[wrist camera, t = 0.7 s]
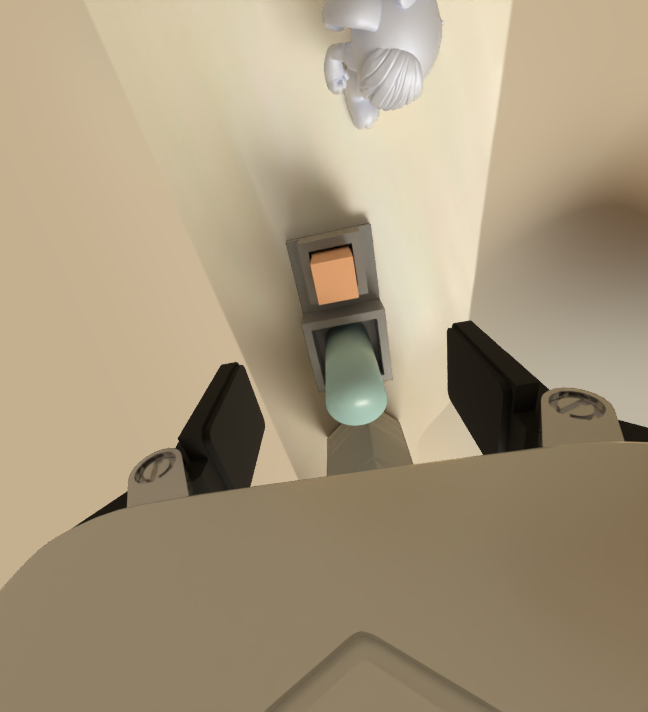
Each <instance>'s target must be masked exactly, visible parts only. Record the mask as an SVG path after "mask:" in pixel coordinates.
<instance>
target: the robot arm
mask: <svg viewBox="0 0 648 712" xmlns="http://www.w3.org/2000/svg"><path fill="white" fill-rule="evenodd" d="M447 370H448V395H449V398H450V400H451V402H452V404H453V405H454V407H455V409H456V410H457V412H458V413H459V415H460V417H461V418H462V420H463V422H464V424H465V425H466V427H467V428H468V430H469V432H470V434H471V435H472V437H473V438H474V440H475V442H476V444H477V445H478V447H479V448H480V450H481V452H482V454H483V455H481V456H472V457H465V458H457V459H450V460H442V461H435V462H427V463H420V464H413V465H406V466H398V467H391V468H384V469H377V470H370V471H362V472H355V473H348V474H341V475H333V476H326V477H319V478H311V479H304V480H297V481H290V482H283V483H275V484H268V485H261V486H254V487H250V485H251V482H252V478H253V474H254V469H255V466H256V461H257V457H258V453H259V450H260V445H261V441H262V437H263V433H264V430H265V422H264V418H263V415H262V413H261V410H260V407H259V405H258V402H257V399H256V397H255V394H254V391H253V389H252V386H251V383H250V381H249V378H248V375H247V372H246V370H245V368H244V366H243V365H239V364H238V363H237V362H234V363H229V364H223V365H221V366H220V368H219V369H218V371H217V373H216V375H215V376H214V378H213V380H212V382H211V383H210V385H209V387H208V388H207V390H206V391H205V393H204V395H203V397H202V399H201V400H200V402H199V404H198V405H197V407H196V408H195V410H194V412H193V414H192V415H191V417H190V419H189V420H188V422H187V424H186V425H185V427H184V429H183V430H182V432H181V434H180V436H179V437H178V440H179V442H178V444H177V446H176V448H167V449H162V450H159V451H157V452H154V453H152V454H151V455H149V456H147V457H146V458H145V459H143V460H142V461H140V462H139V463H138V465H136V466H135V468H134V469H133V470H132V472H131V473H130V476H129V480H128V491H127V492H126V493H124V494H123V495H121V496H120V497H118V498H117V499H115V500H114V501H112V502H111V503H109V504H108V505H106V506H105V507H103V508H102V509H100V510H99V511H97V512H96V513H95V514H93V515H91V516H90V517H88V518H87V519H85V520H84V521H82V522H81V523H79V524H78V525H76V526H75V527H73V528H72V529H71V530H69V531H67V532H65V533H63V534H61V535H60V536H58V537H56V538H55V539H53V540H52V541H50V542H48V543H47V544H46V545H44V546H43V547H42V548H41V549H39V550H38V551H37V552H36V553H35V554H34V555H33V556H32V557H31V558H30V559H29V560H28V561H27V562H26V563H25V564H24V565H23V566H22V567H21V568H20V569H19V570H18V571H17V573H15V574H14V576H13V577H12V578H11V579H10V580H9V581H8V582H7V583H6V584H5V585H4V587H3V588H2V589H1V590H0V712H648V428H647V427H643V426H639V425H636V424H631V423H628V422H624V421H620V420H618V419H617V416H616V412H615V409H614V408H613V406H612V405H611V403H610V402H608V401H607V400H606V399H605V398H603V397H601V396H599V395H597V394H595V393H592V392H589V391H586V390H582V389H576V388H556V389H552V390H549V389H548V388H547V387H546V386H544V385H543V384H542V383H541V382H540V381H539V380H538V379H537V378H535V377H534V376H533V375H532V374H531V373H530V372H529V371H528V370H526V369H525V368H524V367H523V366H522V365H521V364H520V363H519V362H517V361H516V360H515V359H514V358H513V357H512V356H511V355H510V354H508V353H507V352H506V351H504V350H503V349H502V348H501V347H500V346H499V345H498V344H497V343H496V342H494V341H493V340H492V339H491V338H490V337H489V336H488V335H487V334H485V333H484V332H483V331H482V330H481V329H480V328H479V327H477V326H476V325H475V324H474V323H473V322H472V321H464V322H459V323H453V325H452V328H448V330H447Z"/></svg>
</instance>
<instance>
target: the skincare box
mask: <svg viewBox="0 0 648 712" xmlns="http://www.w3.org/2000/svg"><path fill="white" fill-rule="evenodd" d="M406 465H413V462H412V459H411V456H410V452H409V449H408V446H407V443H406V440H405V437H404V434H403V431H402V428H401V425H400V422H399V421H397V420H396V419H394V418H392V417H391V416H389V415H388V414H386V413H385V412H383V413H382V414H381V415H380V416H379V417H378V418H377V419H375V420H374V421H372V422H370V423H367V424H364V425H357V426H352V425H346V424H343V423H341V424H340V426H339V427H338V428H337V429H336V430H335V431H334V432H333V433H332V434H331V435H330V436H329V438H328V439H327V476H333V475H341V474H348V473H355V472H362V471H370V470H377V469H384V468H391V467H398V466H406Z"/></svg>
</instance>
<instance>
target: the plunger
mask: <svg viewBox="0 0 648 712" xmlns="http://www.w3.org/2000/svg"><path fill="white" fill-rule="evenodd" d="M310 266H311V270H312V275H313V279H314V284H315V289H316V293H317V298H318V302H319V305H323V304H328V303H333V302H338V301H344V300H349V299H354V298H359V294H358V287H357V281H356V274H355V268H354V261H353V256H352V253H351V251H350V249H349V246H343V247H339V248H334V249H329V250H324V251H319V252H315V253H313V254H312V259H311V264H310Z"/></svg>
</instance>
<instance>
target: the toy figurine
mask: <svg viewBox="0 0 648 712" xmlns="http://www.w3.org/2000/svg"><path fill="white" fill-rule="evenodd" d="M323 22H324V25H325V26H326V28H328V29H331V30H333V31H342V30H343V28H344V27H346V28H351V41H350V42H349V43H346V44H343V43H340V44H333V45H331V46H330V47H329V48H328V50H327V52H326V56H325V62H324V73H325V79H326V83H327V86H328V89H329V90H330V91H331V92H332V93H333V94H336V95H338V94H341V93H342V91H343V90H344V93H345V97H346V100H347V104H348V108H349V112H350V114H351V117H352V120H353V123H354V126H355V127H356V128H357V129H360V130H361V129H364V128H366V129H370V128H371V127H372V126H373V124H374V122H375V121H377V120H378V118H379V114H380V112H379V109H383V110H384V111H389V110H395V109H399V108H402V107H403V106H404V105H405V104H406V105H408V104H410V103H411V101H414V100H416V99H418V98H419V97H420V96H421V93H422V86H423V81H424V79H425V78H426V77H427V75H428V74H429V72H430V70H431V68H432V67H433V65H434V63H435V60H436V58H437V55H438V52H439V48H440V43H441V37H442V25H443V22H444V20H443V21H441V18H440V14H439V9H438V5H437V1H436V0H325V3H324V7H323ZM342 62H344V63H345V65H346V66H347V68H346V69H345V70H344V67H343V63H342Z"/></svg>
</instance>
